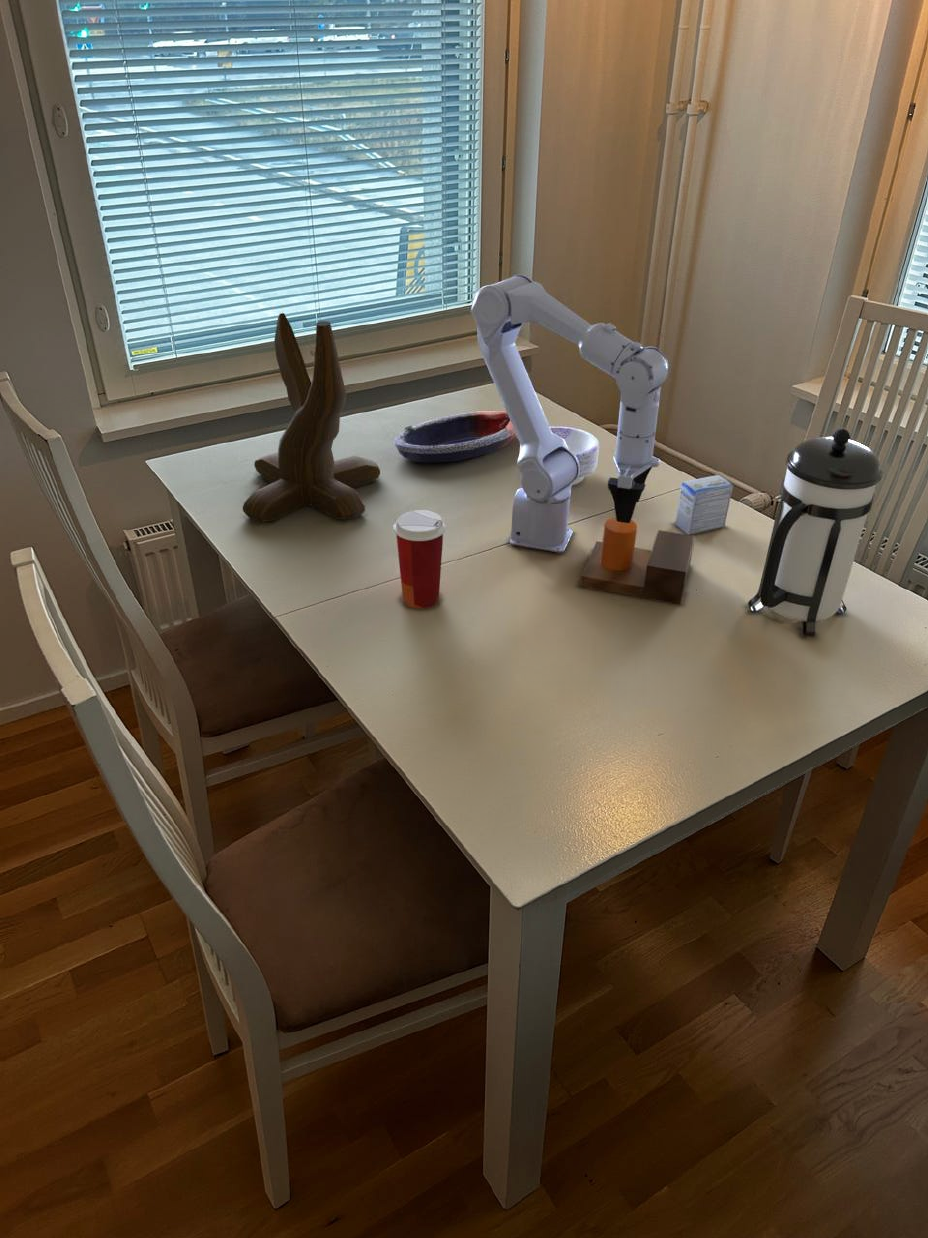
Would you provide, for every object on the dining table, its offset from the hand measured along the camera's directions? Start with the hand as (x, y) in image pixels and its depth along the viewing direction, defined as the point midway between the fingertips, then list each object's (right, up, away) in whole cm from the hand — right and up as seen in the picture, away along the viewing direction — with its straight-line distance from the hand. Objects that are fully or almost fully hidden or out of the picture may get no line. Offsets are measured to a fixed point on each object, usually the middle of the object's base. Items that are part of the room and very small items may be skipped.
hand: (627, 510), depth 147 cm
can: (-1, -8, +3) cm, 9 cm away
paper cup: (-33, -14, -3) cm, 36 cm away
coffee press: (+25, -17, -5) cm, 30 cm away
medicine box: (+16, -1, +18) cm, 24 cm away
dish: (-27, +18, +45) cm, 55 cm away
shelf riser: (+2, -10, +3) cm, 11 cm away
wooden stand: (-56, +6, +27) cm, 62 cm away
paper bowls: (-8, +10, +34) cm, 36 cm away
